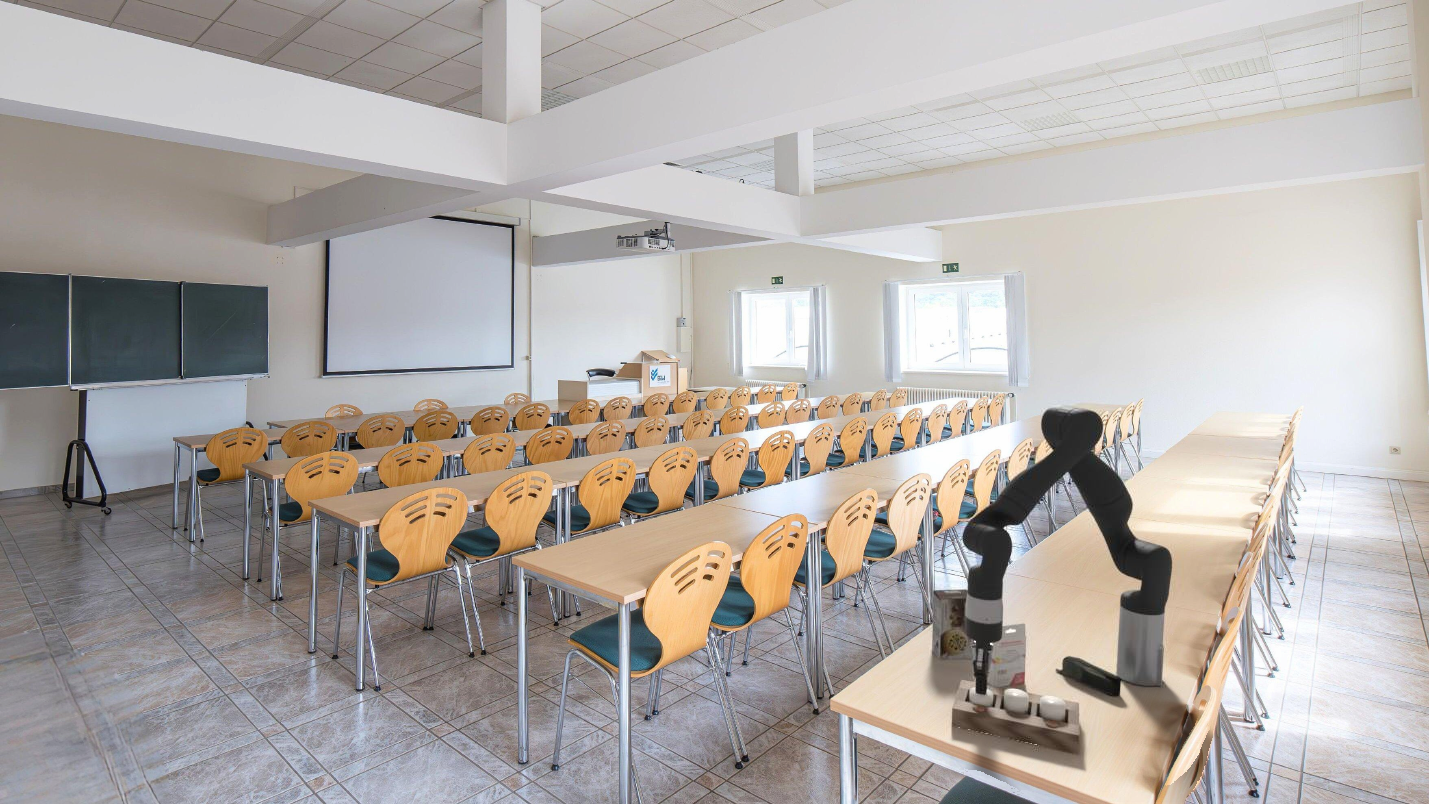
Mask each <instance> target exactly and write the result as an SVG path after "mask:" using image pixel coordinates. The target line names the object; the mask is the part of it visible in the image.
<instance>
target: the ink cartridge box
mask: <svg viewBox="0 0 1429 804" xmlns="http://www.w3.org/2000/svg"><path fill="white" fill-rule="evenodd" d="M1026 633H1027V632H1026V624H1025V623H1024V622H1022V623H1017V624H1016V623H1015V624H1008V625H1003V626H1002V639H1001V640H1000V641H998V642H994V643H992V642H991V644H993V652H992V659H991V665H990V669H989V670H988V672H989V674H988V677H987V684H988V685H991V686H996V687H1001V688H1004V687H1008V686H1014V685H1022V684H1024V683H1025V682H1026V659H1027V658H1026V653H1027V652H1026V651H1027V635H1026Z"/></svg>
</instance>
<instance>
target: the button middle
mask: <svg viewBox="0 0 1429 804" xmlns="http://www.w3.org/2000/svg"><path fill="white" fill-rule="evenodd" d="M1006 689H1007V690H1005V691H1004V710H1008V711H1012V712H1017V713H1022V714H1027V715H1028V705H1029V695H1028V694H1027V693H1028V692H1027V693H1026V691H1024V690H1022V689H1018V688H1006Z"/></svg>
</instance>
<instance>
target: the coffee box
mask: <svg viewBox="0 0 1429 804" xmlns="http://www.w3.org/2000/svg"><path fill="white" fill-rule="evenodd" d="M967 590H968V589H964V588H963V589H934V590H933V592H932V597H933V598H932V631H931V632H932V635H931V637H932V640H931V642H932V643H931V648H932V649H931V650H932V651H933V652H934V654H935V655H936V657H937V658H938V659H939V660H962V659H963V660H964V659H965V660H967V659H972V660H973V654H972V646H974V640H973V639H970V638H969V637H967V636H966V634H965V612H966V599H967V593H968V592H967Z"/></svg>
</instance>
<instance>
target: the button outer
mask: <svg viewBox="0 0 1429 804" xmlns="http://www.w3.org/2000/svg"><path fill="white" fill-rule="evenodd" d="M969 703H974V704H979V705H984V706H989V707H993V693H992V692H991V691H990V690H988V689H987V692H986V695H982V694H977V693H976V692H975V687H974V688H971V689H970V693H969Z"/></svg>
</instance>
